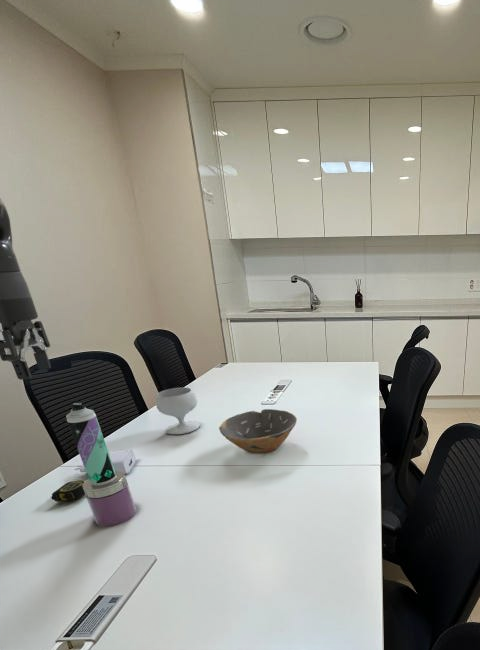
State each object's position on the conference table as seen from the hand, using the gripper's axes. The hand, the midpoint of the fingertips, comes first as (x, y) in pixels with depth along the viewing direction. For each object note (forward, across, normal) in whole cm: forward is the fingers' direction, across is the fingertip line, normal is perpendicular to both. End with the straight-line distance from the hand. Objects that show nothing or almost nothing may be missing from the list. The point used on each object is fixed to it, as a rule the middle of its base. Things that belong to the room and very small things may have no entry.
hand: (35, 373), depth 85 cm
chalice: (+37, -53, +14) cm, 67 cm away
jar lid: (+27, +3, +7) cm, 28 cm away
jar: (+37, +3, +8) cm, 38 cm away
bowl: (+37, -25, +44) cm, 63 cm away
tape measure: (+38, -10, -7) cm, 40 cm away
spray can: (+27, +3, +8) cm, 28 cm away
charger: (+38, -24, -4) cm, 45 cm away
